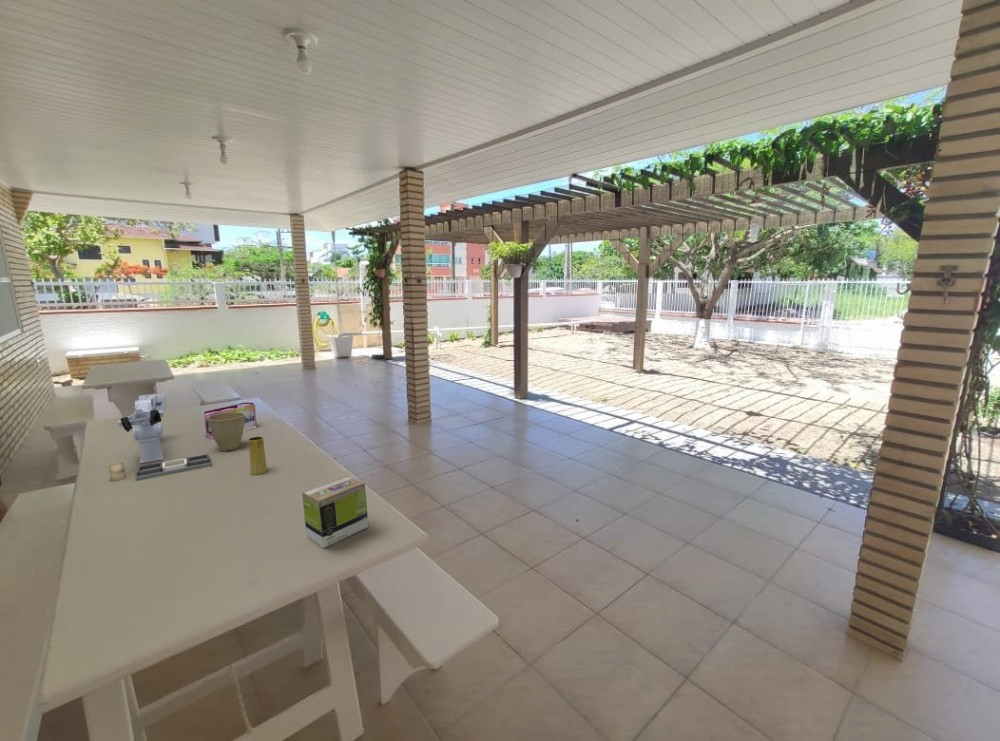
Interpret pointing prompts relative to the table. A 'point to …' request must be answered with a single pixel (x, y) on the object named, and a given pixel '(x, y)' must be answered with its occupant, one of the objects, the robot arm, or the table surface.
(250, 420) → the gum box
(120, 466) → the beech pin
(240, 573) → the table surface
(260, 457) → the vase
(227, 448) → the plant pot
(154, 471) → the gray compartment tray
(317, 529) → the tea box
